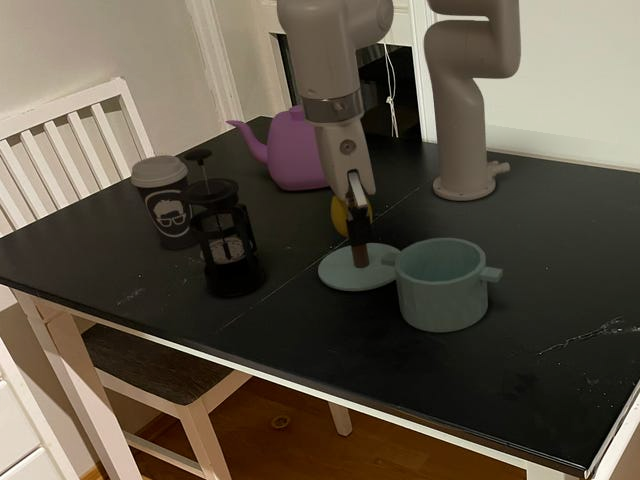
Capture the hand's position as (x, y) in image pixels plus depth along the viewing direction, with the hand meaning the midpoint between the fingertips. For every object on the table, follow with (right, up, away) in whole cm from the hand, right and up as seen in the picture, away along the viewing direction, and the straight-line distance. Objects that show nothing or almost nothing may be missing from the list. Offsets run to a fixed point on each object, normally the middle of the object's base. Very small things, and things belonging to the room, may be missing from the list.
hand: (355, 232), depth 102 cm
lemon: (0, -1, +1) cm, 1 cm away
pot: (+12, -9, +13) cm, 20 cm away
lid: (-3, -2, +23) cm, 23 cm away
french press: (-24, -5, +23) cm, 33 cm away
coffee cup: (-38, +4, +35) cm, 52 cm away
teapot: (-19, +21, +54) cm, 61 cm away
